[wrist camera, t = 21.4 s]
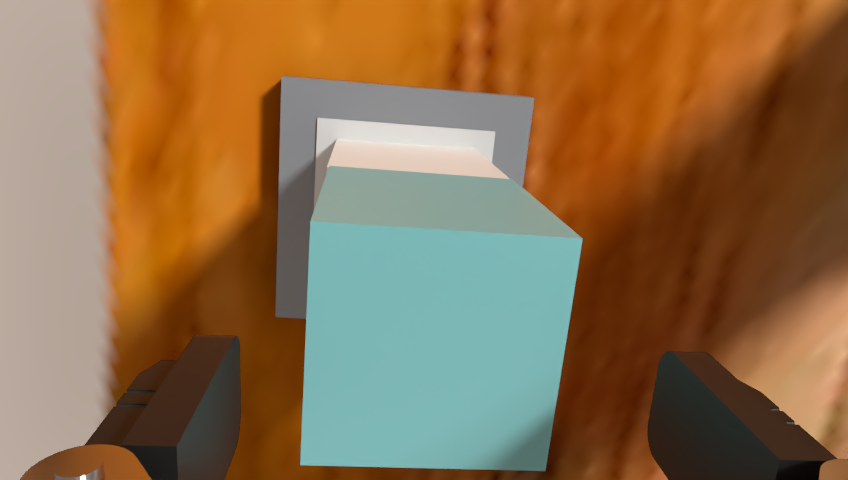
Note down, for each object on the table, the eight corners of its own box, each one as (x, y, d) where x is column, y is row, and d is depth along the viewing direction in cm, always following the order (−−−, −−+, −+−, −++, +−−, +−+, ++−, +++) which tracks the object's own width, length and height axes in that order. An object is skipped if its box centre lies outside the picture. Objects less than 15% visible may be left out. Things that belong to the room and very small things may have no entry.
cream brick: (474, 148, 23) (510, 178, 18) (461, 278, 25) (490, 345, 19) (336, 139, 23) (326, 166, 17) (331, 272, 24) (320, 339, 18)
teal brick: (512, 178, 18) (582, 238, 12) (491, 345, 19) (545, 471, 13) (329, 165, 17) (310, 221, 11) (321, 337, 18) (300, 465, 13)
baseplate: (526, 96, 24) (535, 98, 23) (498, 316, 27) (505, 328, 25) (285, 75, 23) (281, 76, 22) (279, 305, 26) (275, 318, 25)
